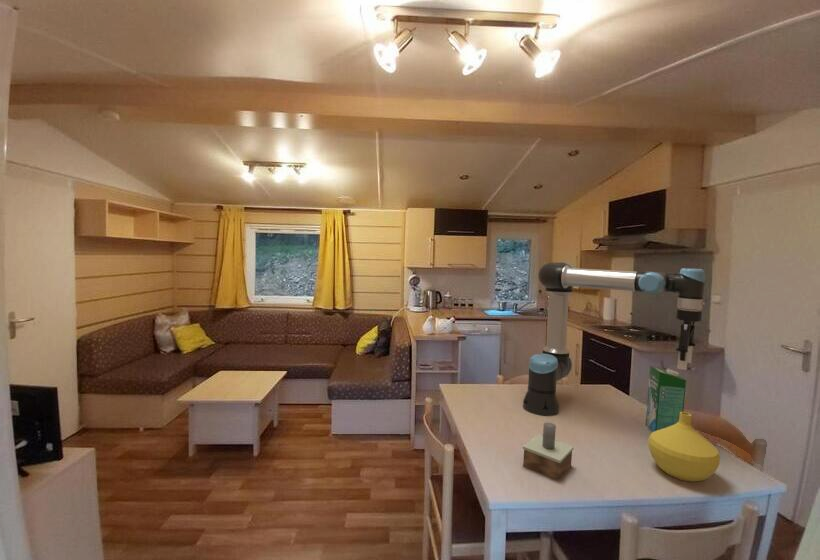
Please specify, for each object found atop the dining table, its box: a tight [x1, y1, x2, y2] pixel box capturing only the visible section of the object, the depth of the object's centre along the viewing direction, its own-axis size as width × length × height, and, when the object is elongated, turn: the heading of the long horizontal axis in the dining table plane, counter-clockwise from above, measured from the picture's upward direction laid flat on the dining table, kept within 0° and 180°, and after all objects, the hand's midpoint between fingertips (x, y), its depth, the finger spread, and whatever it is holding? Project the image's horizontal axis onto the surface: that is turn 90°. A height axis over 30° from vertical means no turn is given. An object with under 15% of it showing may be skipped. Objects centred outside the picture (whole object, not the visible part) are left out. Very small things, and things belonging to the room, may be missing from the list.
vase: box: [648, 411, 721, 483], centre depth 120 cm, size 18×18×19 cm
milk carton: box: [645, 365, 687, 433], centre depth 148 cm, size 9×9×25 cm
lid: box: [522, 422, 575, 463], centre depth 120 cm, size 12×12×9 cm
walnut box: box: [522, 449, 573, 481], centre depth 120 cm, size 11×11×6 cm
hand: (684, 365), depth 143 cm, fingers open, 13 cm apart
